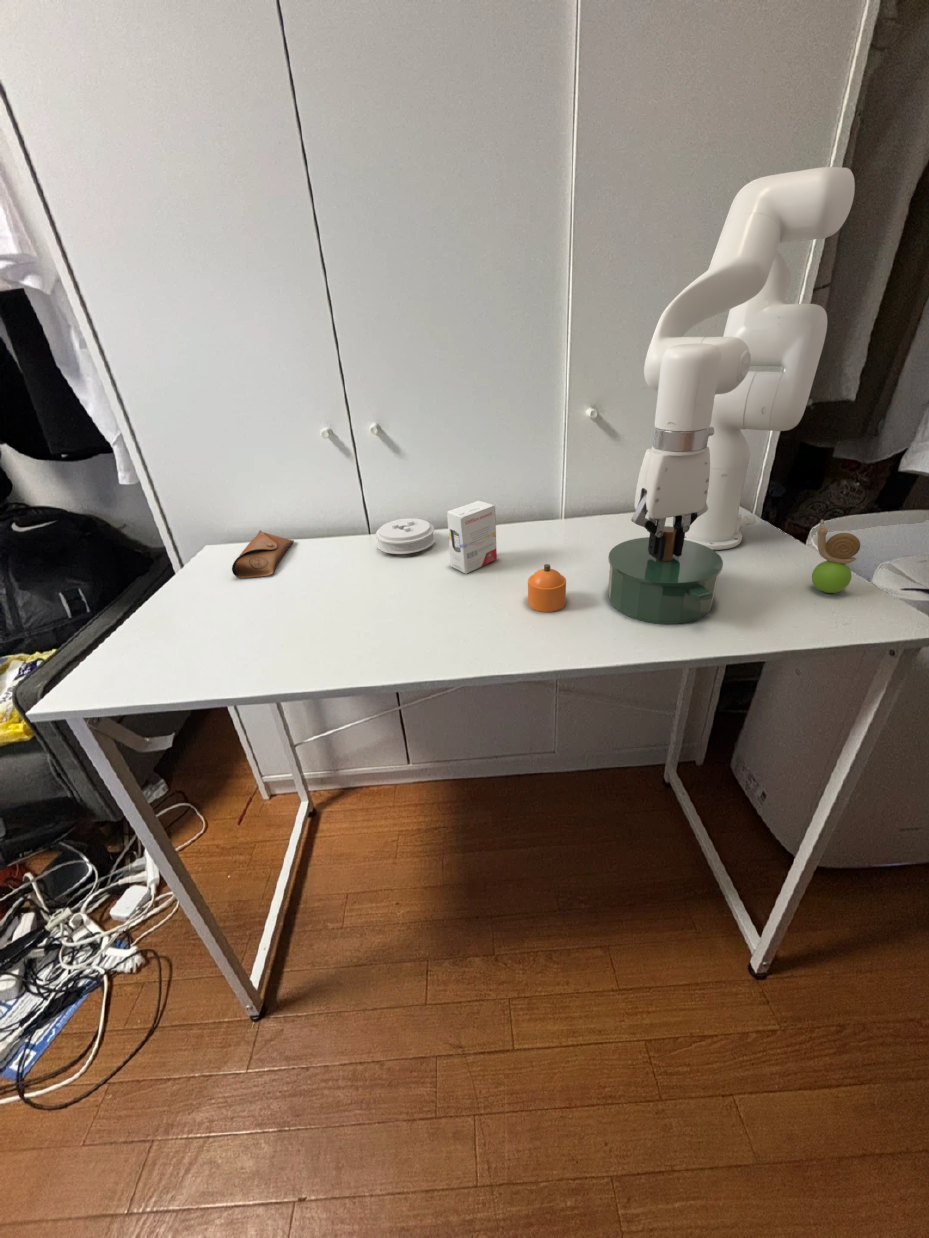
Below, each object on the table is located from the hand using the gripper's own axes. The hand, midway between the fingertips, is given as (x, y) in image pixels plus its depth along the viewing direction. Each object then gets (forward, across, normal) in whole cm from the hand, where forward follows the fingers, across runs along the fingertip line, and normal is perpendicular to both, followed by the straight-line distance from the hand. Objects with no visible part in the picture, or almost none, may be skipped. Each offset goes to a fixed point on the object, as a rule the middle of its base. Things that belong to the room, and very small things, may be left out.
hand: (664, 554), depth 88 cm
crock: (+8, 0, 0) cm, 8 cm away
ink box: (+8, +25, -26) cm, 37 cm away
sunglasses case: (+8, +66, -47) cm, 81 cm away
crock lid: (+1, 0, 0) cm, 1 cm away
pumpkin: (+8, +18, -6) cm, 21 cm away
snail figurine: (+8, -26, +8) cm, 28 cm away
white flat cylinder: (+8, +36, -41) cm, 55 cm away
